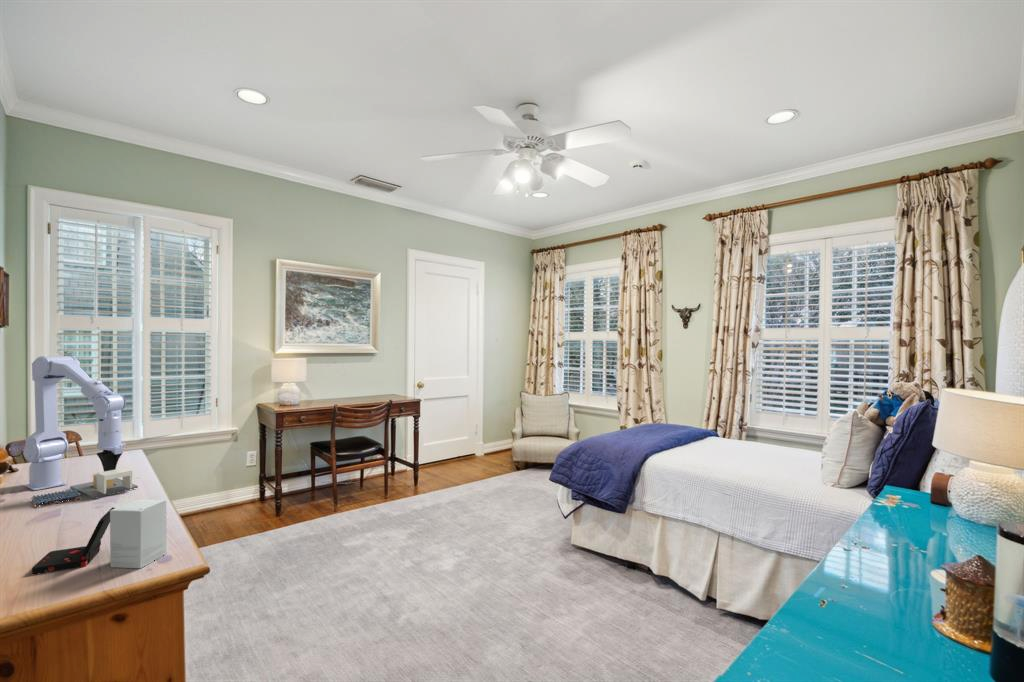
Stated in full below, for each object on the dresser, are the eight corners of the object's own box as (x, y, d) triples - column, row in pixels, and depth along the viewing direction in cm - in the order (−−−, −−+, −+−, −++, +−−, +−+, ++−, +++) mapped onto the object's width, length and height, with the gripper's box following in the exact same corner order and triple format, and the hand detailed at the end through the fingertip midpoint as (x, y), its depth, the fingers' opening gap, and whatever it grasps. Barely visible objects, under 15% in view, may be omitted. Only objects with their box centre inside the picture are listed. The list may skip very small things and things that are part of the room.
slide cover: (96, 490, 150) (96, 472, 150) (124, 484, 156) (124, 467, 156) (104, 493, 147) (104, 475, 147) (132, 487, 153) (132, 470, 153)
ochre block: (93, 489, 156) (93, 474, 156) (108, 486, 159) (108, 471, 159) (98, 491, 154) (98, 476, 154) (113, 488, 157) (113, 473, 157)
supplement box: (168, 554, 109) (168, 499, 109) (139, 569, 102) (139, 511, 102) (138, 552, 110) (138, 498, 110) (108, 567, 103) (108, 509, 103)
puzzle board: (70, 489, 156) (70, 486, 156) (115, 480, 166) (115, 477, 166) (91, 499, 146) (91, 495, 146) (137, 488, 157) (137, 485, 157)
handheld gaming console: (50, 557, 108) (50, 513, 108) (117, 547, 113) (117, 505, 113) (30, 576, 99) (30, 528, 99) (103, 564, 104) (104, 519, 104)
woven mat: (76, 493, 153) (76, 487, 153) (82, 501, 146) (82, 494, 146) (30, 502, 145) (30, 495, 145) (34, 510, 138) (34, 503, 138)
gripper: (134, 432, 154) (134, 473, 154) (115, 427, 161) (115, 467, 161) (107, 435, 147) (106, 479, 148) (89, 430, 155) (89, 472, 155)
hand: (109, 473), depth 154 cm, fingers closed
